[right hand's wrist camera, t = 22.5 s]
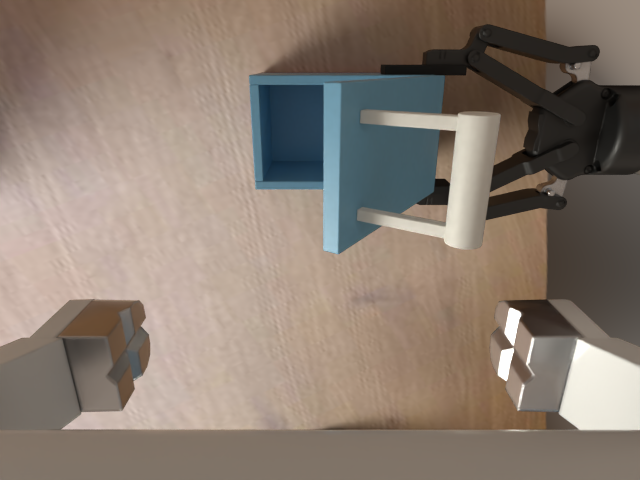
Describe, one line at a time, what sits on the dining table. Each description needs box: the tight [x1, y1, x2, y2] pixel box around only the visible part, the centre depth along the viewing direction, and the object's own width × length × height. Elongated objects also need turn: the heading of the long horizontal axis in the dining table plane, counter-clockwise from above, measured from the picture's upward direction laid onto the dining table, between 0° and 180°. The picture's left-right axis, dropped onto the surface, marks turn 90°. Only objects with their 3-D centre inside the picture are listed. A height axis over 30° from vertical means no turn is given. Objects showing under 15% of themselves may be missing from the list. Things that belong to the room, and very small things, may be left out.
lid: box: [323, 75, 501, 254], centre depth 28 cm, size 16×9×8 cm
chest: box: [249, 73, 428, 189], centre depth 41 cm, size 15×9×9 cm, turn 90°
